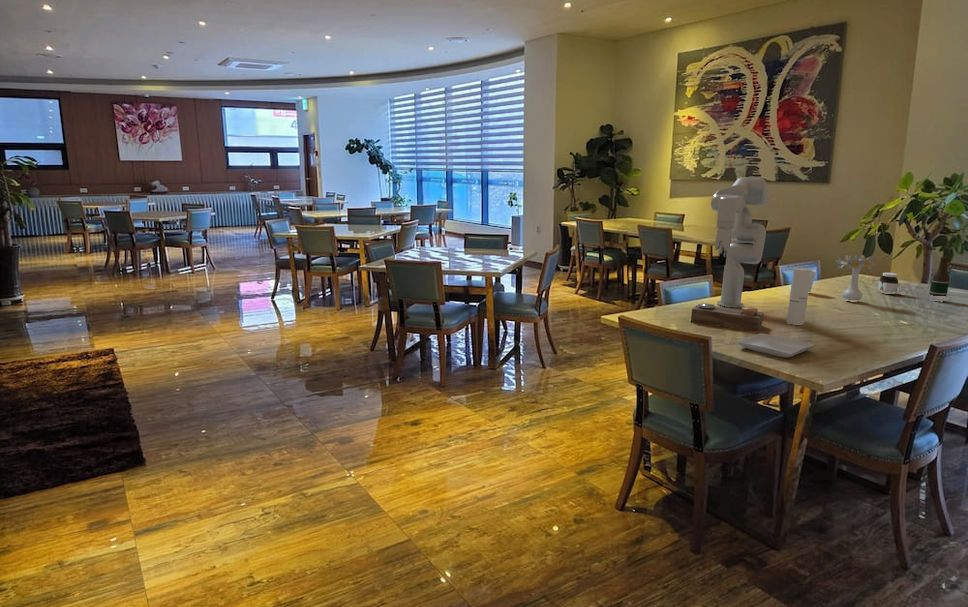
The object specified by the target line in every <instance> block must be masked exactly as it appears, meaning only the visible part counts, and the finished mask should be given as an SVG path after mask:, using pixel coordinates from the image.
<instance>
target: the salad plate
mask: <svg viewBox="0 0 968 607" xmlns="http://www.w3.org/2000/svg"><path fill="white" fill-rule="evenodd" d="M736 341H737V340H736ZM737 344H738V345H740V346H741V347H743V348H745V349H748V350H750V351H753V352H756V353H757V352H758V353H761V354H766V355H770V356H774V357H779V358H783V359H787V358H791V357H793V356H796V355H798V354H801V353H803V352H807V351H808V350H811V349H812V348H814V347H815V344H814V343H809V342H805V341H802V340H797V339H794V338H793V339H792V338H789V337H788V338H787V337H783V336H779V335H773V334H769V333H768V334H767V333H761V332H760V333H757V334H754V335H752V336H747V337H745V338H743V339H738V341H737Z"/></svg>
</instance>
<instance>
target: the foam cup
mask: <svg viewBox="0 0 968 607" xmlns="http://www.w3.org/2000/svg"><path fill="white" fill-rule="evenodd" d="M810 269H811V268H810ZM811 270H812V271H811V278H810V285H809V292H810V293H811V292H812V289H813V285H814V282H815V278H816V275H817V270H816V269H811Z"/></svg>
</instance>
